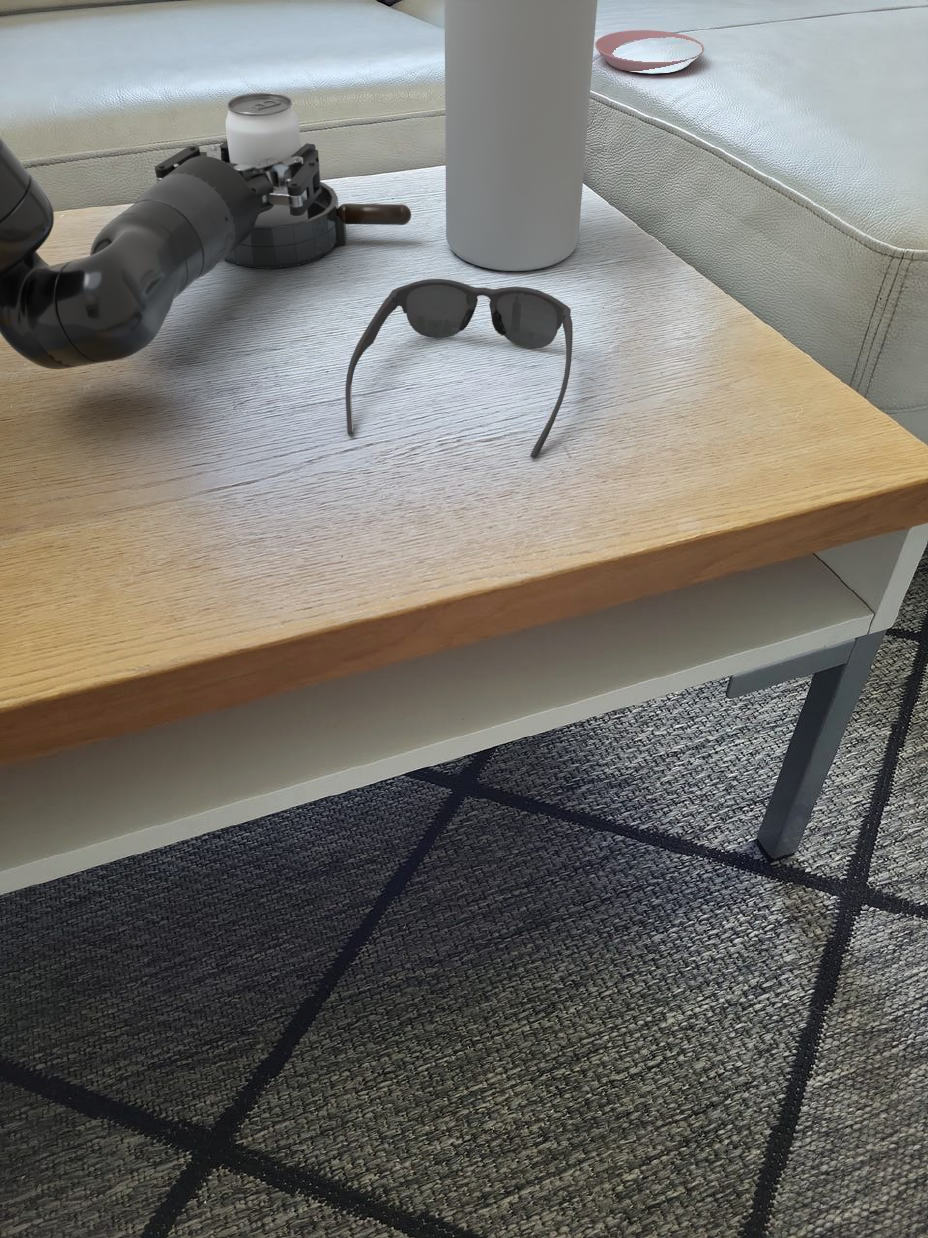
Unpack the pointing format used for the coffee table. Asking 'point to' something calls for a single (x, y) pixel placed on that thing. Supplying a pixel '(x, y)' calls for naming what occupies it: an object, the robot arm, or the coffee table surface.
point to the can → (264, 140)
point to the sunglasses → (449, 311)
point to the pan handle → (370, 216)
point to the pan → (292, 237)
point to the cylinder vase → (516, 128)
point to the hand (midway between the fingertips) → (276, 150)
